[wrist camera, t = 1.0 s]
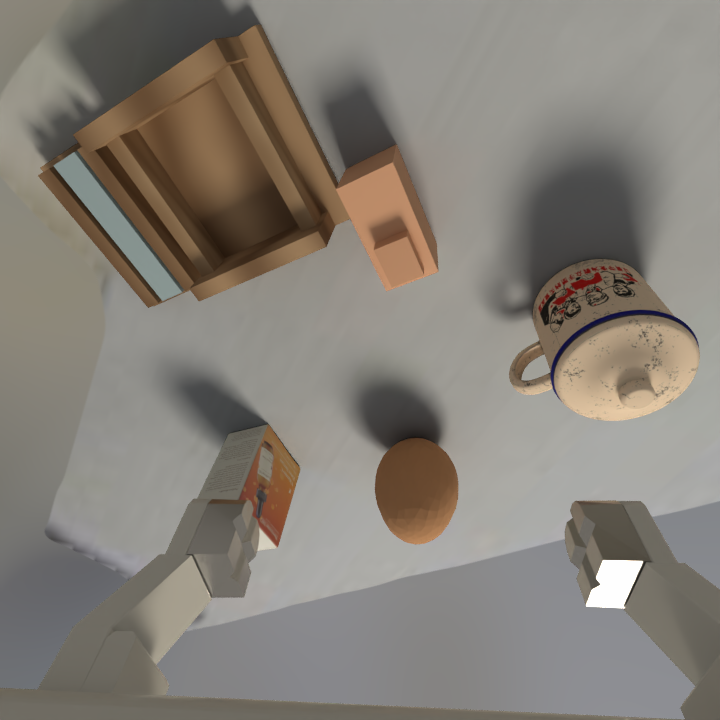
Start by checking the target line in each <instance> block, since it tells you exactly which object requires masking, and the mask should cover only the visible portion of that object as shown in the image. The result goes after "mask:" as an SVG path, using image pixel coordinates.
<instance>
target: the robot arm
mask: <svg viewBox="0 0 720 720" xmlns="http://www.w3.org/2000/svg"><path fill="white" fill-rule="evenodd" d="M253 510H254V508H253V505H252V502H251V500H226V499H193V500H192V501H191V502H190V503H189V504H188V506H187V509H186V511H185V513H184V515H183V517H182V519H181V521H180V524H179V526H178V528H177V530H176V532H175V534H174V536H173V539H172V541H171V543H170V545H169V547H168V549H167V551H166V554H160V555H158V556H157V557H156V558H155V559H154V560H152V561H151V562H150V563H149V564H148V565H147V566H145V567H144V568H143V569H142V570H141V571H139V572H138V573H137V574H136V575H135V576H133V577H132V578H131V579H130V580H129V581H127V582H126V583H125V584H124V585H123V586H121V587H120V588H119V589H118V590H117V591H115V592H114V593H113V594H112V595H111V596H110V597H108V598H107V599H106V600H105V601H104V602H102V603H101V604H100V605H99V606H98V607H97V608H95V609H94V610H93V611H92V612H90V613H89V614H88V615H87V616H86V617H84V618H83V619H82V620H81V621H80V622H78V623H77V624H76V625H75V626H74V627H73V628H72V630H71V632H70V633H69V635H68V637H67V638H66V640H65V642H64V644H63V646H62V647H61V649H60V651H59V653H58V654H57V656H56V658H55V660H54V661H53V663H52V665H51V667H50V668H49V670H48V672H47V674H46V675H45V677H44V679H43V681H42V682H41V684H40V686H39V688H38V689H37V690H35V689H13V688H0V720H681V719H661V718H639V717H617V716H596V715H575V714H554V713H552V714H551V713H532V712H531V713H530V712H511V711H510V712H509V711H488V710H467V709H446V708H425V707H403V706H402V707H401V706H382V705H361V704H339V703H318V702H317V703H316V702H296V701H273V700H252V699H229V698H209V697H187V696H166V693H167V690H168V687H169V685H168V682H167V680H166V678H165V677H164V675H163V674H162V672H161V671H160V669H159V668H158V667H157V665H156V664H157V663H158V662H159V661H160V659H161V658H162V657H163V656H164V655H165V654H166V653H167V651H168V650H169V649H170V648H171V647H172V646H173V644H174V643H175V642H176V641H177V640H178V638H179V637H180V636H181V635H182V634H183V633H184V631H185V630H186V629H187V628H188V627H189V626H190V624H191V623H192V622H193V621H194V620H195V619H196V617H197V616H198V615H199V614H200V613H201V612H202V610H203V609H204V608H205V607H206V606H207V605H208V603H209V602H210V601H211V600H212V599H211V598H215V597H244V596H245V592H246V589H247V585H248V582H249V578H250V575H251V570H250V567H249V564H248V563H249V562H250V561H251V560H252V559H253V558H254V557H255V556H256V553H257V549H258V545H259V535H260V533H259V524H258V521H257V519H256V518H254V517H253V516H252V513H253ZM570 512H571V514H572V517H573V518H572V519H571V520H570V521H568V522H567V524H566V528H565V544H566V549H567V553H568V556H569V559H570V561H571V562H572V563H573V564H574V565H575V566H576V567H577V568H578V569H579V573H578V576H577V582H578V584H579V587H580V590H581V593H582V596H583V598H584V601H585V604H586V606H596V607H615V608H624V610H625V611H626V613H627V614H628V615H629V616H630V617H631V618H632V619H633V620H634V621H635V622H636V623H637V624H638V625H639V626H640V628H641V629H642V630H643V631H644V632H645V633H646V634H647V635H648V636H649V637H650V638H651V639H652V640H653V641H654V642H655V644H656V645H657V646H658V647H659V648H660V649H661V650H662V651H663V652H664V653H665V654H666V655H667V656H668V657H669V658H670V660H671V661H672V662H673V663H674V664H675V665H676V666H677V667H678V668H679V669H680V670H681V671H682V672H683V673H684V674H685V676H686V677H688V679H689V680H690V681H691V682H692V683H693V684H694V685H695V688H694V689H693V690H692V692H691V693H690V695H689V696H688V697H687V698H686V700H685V701H684V703H683V704H682V706H681V711H682V713H683V715H684V718H685V720H720V589H718V588H717V587H716V586H714V585H713V584H712V583H710V582H709V581H708V580H706V579H705V578H704V577H703V576H701V575H700V574H699V573H697V572H696V571H695V570H693V569H692V568H691V567H689V566H688V565H687V564H685V563H678V562H677V560H676V558H675V557H674V555H673V553H672V551H671V550H670V548H669V546H668V544H667V543H666V541H665V539H664V537H663V536H662V534H661V532H660V530H659V529H658V527H657V525H656V524H655V522H654V520H653V518H652V516H651V515H650V513H649V511H648V509H647V508H646V506H645V505H644V504H643V503H642V502H641V501H575V502H574V503H573V504H572V506H571V510H570Z"/></svg>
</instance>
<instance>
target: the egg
mask: <svg viewBox="0 0 720 720" xmlns="http://www.w3.org/2000/svg"><path fill="white" fill-rule="evenodd" d="M375 494H376V500H377V505H378V507H379V510H380V512H381V515H382V517H383V520H384V521H385V523H386V525H387V526H388V528H389V529H390V531H391V532H392V533H393V534H394V535H396V536H397V537H398V538H400V539H401V540H403V541H405V542H407V543H412V544H424V543H427V542H429V541H431V540H434V539H435V538H436V537H438V536H439V535H440V534H441V533H442V532H443V531H444V529H445V528H446V527H447V525H448V524H449V522H450V520H451V518H452V515H453V513H454V511H455V509H456V505H457V500H458V477H457V473H456V470H455V467H454V464H453V463H452V461H451V459H450V458H449V456H448V455H447V453H446V452H445V451H444V450H443V449H441V448H440V447H439V446H438V445H437V444H435V443H433V442H431V441H429V440H426V439H423V438H409V439H406V440H403V441H400V442H398V443H397V444H395V445H394V446H392V447H391V448H390V449H389V450H388V451H387V452H386V454H385V455H384V456H383V458H382V460H381V462H380V464H379V467H378V469H377V473H376V481H375Z"/></svg>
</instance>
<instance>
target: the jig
mask: <svg viewBox="0 0 720 720" xmlns="http://www.w3.org/2000/svg"><path fill="white" fill-rule="evenodd" d="M73 136H74V137H75V138H76V140H77V141H78V143H77V144H75V145H74V146H72V147H71V148H69V149H68V150H66V151H65V152H63V153H62V154H60V155H59V156H57V157H56V158H54V159H53V160H51V161H50V162H48V163H47V164H45V165H44V166H42V167H41V170H42V171H43V173H41V174H40V175H38V176H39V177H40V179H41V180H42V181H43V182H44V183H45V185H46V186H47V187H48V188H49V189H50V191H51V192H52V193H53V194H54V195H55V197H56V198H57V199H58V200H59V201H60V203H61V204H62V205H63V206H64V207H65V209H66V210H67V211H68V212H69V213H70V215H71V216H72V217H73V218H74V219H75V221H76V222H77V223H78V224H79V225H80V227H81V228H82V229H83V230H84V231H85V233H86V234H87V235H88V236H89V237H90V239H91V240H92V241H93V242H94V243H95V245H96V246H97V247H98V248H99V249H100V251H101V252H102V253H103V254H104V255H105V257H106V258H107V259H108V260H109V261H110V263H111V264H112V265H113V266H114V267H115V269H116V270H117V271H118V272H119V273H120V275H121V276H122V277H123V278H124V279H125V281H126V282H127V283H128V284H129V285H130V287H131V288H132V289H133V290H134V291H135V293H136V294H137V295H138V296H139V297H140V299H141V300H142V301H143V302H144V303H145V305H146V306H147V307H148V308H149V307H151V306H156V305H158V304H160V303H162V302H164V301H167V300H169V299H171V298H173V297H176V296H178V295H180V294H182V293H185V292H187V291H189V290H191V291H192V293H193V294H194V295H195V297H196V298H197V299H198V301H201V300H204V299H206V298H208V297H211V296H213V295H215V294H218V293H220V292H222V291H225V290H227V289H229V288H232V287H234V286H236V285H239V284H241V283H243V282H245V281H248V280H250V279H252V278H255V277H257V276H259V275H262V274H264V273H266V272H269V271H271V270H273V269H276V268H278V267H280V266H283V265H285V264H287V263H290V262H292V261H294V260H297V259H299V258H301V257H304V256H306V255H308V254H311V253H313V252H315V251H318V250H320V249H322V248H325V247H327V244H328V242H329V239H330V237H331V235H332V232H333V230H334V228H335V225H337V224H340V223H342V222H344V221H346V220H349V219H350V217H349V215H348V213H347V211H346V209H345V207H344V205H343V203H342V201H341V199H340V197H339V195H338V193H337V191H336V188H337V186H338V182H337V180H336V178H335V176H334V174H333V172H332V170H331V168H330V166H329V164H328V162H327V160H326V158H325V156H324V154H323V152H322V149H321V147H320V145H319V143H318V141H317V139H316V137H315V135H314V133H313V131H312V129H311V127H310V125H309V123H308V121H307V119H306V117H305V115H304V113H303V110H302V108H301V106H300V104H299V102H298V100H297V98H296V96H295V94H294V92H293V90H292V88H291V86H290V84H289V82H288V80H287V78H286V76H285V74H284V71H283V69H282V67H281V65H280V63H279V61H278V59H277V57H276V55H275V53H274V51H273V49H272V47H271V45H270V43H269V41H268V39H267V37H266V35H265V32H264V30H263V28H262V26H261V25H254V26H253V27H251V28H250V29H248V30H247V31H245V32H244V33H242V34H241V35H239V36H237V37H228V38H219V39H213V40H212V41H211V42H209V43H208V44H206V45H205V46H203V47H202V48H200V49H199V50H197V51H196V52H194V53H193V54H191V55H190V56H188V57H187V58H185V59H184V60H183V61H181V62H180V63H178V64H177V65H175V66H174V67H172V68H171V69H169V70H168V71H166V72H165V73H163V74H162V75H160V76H159V77H157V78H156V79H154V80H153V81H152V82H150V83H149V84H147V85H146V86H144V87H143V88H141V89H140V90H138V91H137V92H135V93H134V94H132V95H131V96H129V97H128V98H126V99H125V100H124V101H122V102H121V103H119V104H118V105H116V106H115V107H113V108H112V109H110V110H109V111H107V112H106V113H104V114H103V115H101V116H100V117H98V118H97V119H96V120H94V121H93V122H91V123H90V124H88V125H87V126H85V127H84V128H82V129H81V130H79V131H78V132H76V133H75V134H73ZM76 151H78V152H79V153H80V154H81V156H82V157H83V158H84V160H85V161H86V162H87V164H88V165H89V166H90V167H91V169H92V170H93V171H94V173H95V174H96V175H97V177H98V178H99V179H100V180H101V182H102V183H103V184H104V186H105V187H106V188H107V190H108V191H109V192H110V194H111V195H112V196H113V197H114V199H115V200H116V201H117V203H118V204H119V205H120V207H121V208H122V209H123V211H124V212H125V213H126V214H127V216H128V217H129V218H130V220H131V221H132V222H133V224H134V225H135V226H136V228H137V229H138V230H139V231H140V233H141V234H142V235H143V237H144V238H145V239H146V241H147V242H148V243H149V245H150V246H151V247H152V248H153V250H154V251H155V252H156V254H157V255H158V256H159V258H160V259H161V260H162V261H163V263H164V264H165V265H166V267H167V268H168V269H169V271H170V272H171V273H172V275H173V276H174V277H175V278H176V280H177V281H178V282H179V284H180V285H181V286H182V288H183V289H184V291H183V292H182V293H180V294H177V295H175V296H173V297H171V298H169V299H166V300H164V301H162V300H161V299H160V297H159V296H158V295H157V294H156V292H155V291H154V290H153V289H152V287H151V286H150V285H149V284H148V282H147V281H146V280H145V279H144V277H143V276H142V275H141V274H140V272H139V271H138V270H137V269H136V268H135V266H134V265H133V264H132V263H131V261H130V260H129V259H128V258H127V256H126V255H125V254H124V253H123V251H122V250H121V249H120V248H119V246H118V245H117V244H116V243H115V242H114V240H113V239H112V238H111V237H110V235H109V234H108V233H107V232H106V230H105V229H104V228H103V227H102V225H101V224H100V223H99V222H98V220H97V219H96V218H95V217H94V215H93V214H92V213H91V212H90V211H89V209H88V208H87V207H86V206H85V204H84V203H83V202H82V201H81V199H80V198H79V197H78V196H77V194H76V193H75V192H74V191H73V189H72V188H71V187H70V186H69V184H68V183H67V182H66V181H65V180H64V178H63V177H62V176H61V175H60V173H59V172H58V171H57V170H56V168H55V167H54V165H55V164H57V163H58V162H60V161H61V160H63V159H64V158H66V157H67V156H69V155H70V154H72V153H73V152H76Z"/></svg>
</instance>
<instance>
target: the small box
mask: <svg viewBox="0 0 720 720" xmlns="http://www.w3.org/2000/svg"><path fill="white" fill-rule="evenodd" d="M299 473H300V467H299V466H298V465H297V464H296V462H295V461H294V460H293V459H292V457H291V456H290V454H289V453H288V452H287V450H286V449H285V447H284V446H283V444H282V443H281V442H280V440H279V439H278V437H277V436H276V434H275V433H274V432H273V430H272V428H271V427H270V425H269V424H267V425H263V426H259V427H255V428H251V429H247V430H242V431H238V432H234V433H230V434H228V436H227V438H226V440H225V442H224V444H223V446H222V448H221V451H220V453H219V455H218V457H217V459H216V461H215V463H214V465H213V467H212V469H211V471H210V473H209V475H208V477H207V479H206V481H205V483H204V486H203V488H202V490H201V492H200V494H199V496H198V498H197V499H226V500H251V502H252V505H253V508H254V510H253V513H252V516H253V517H254V518H256V519H257V521H258V524H259V533H260V535H259V545H258V549H257V551H259V550H266V549H273V548H277V547H278V545H279V542H280V538H281V535H282V531H283V528H284V525H285V521H286V518H287V514H288V511H289V507H290V504H291V500H292V497H293V494H294V490H295V487H296V483H297V480H298V476H299Z"/></svg>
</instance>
